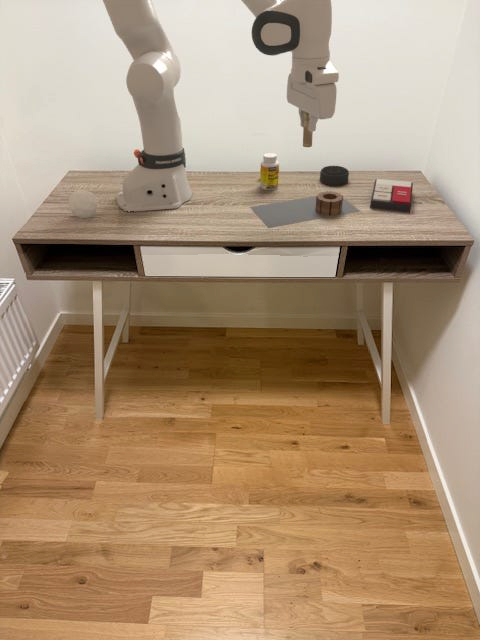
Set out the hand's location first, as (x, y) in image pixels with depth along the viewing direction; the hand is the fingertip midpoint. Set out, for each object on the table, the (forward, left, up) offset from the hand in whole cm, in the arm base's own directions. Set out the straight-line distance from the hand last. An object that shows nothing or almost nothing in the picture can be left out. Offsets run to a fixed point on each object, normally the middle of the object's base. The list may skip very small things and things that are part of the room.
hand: (307, 129), depth 124 cm
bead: (+6, -4, -22) cm, 23 cm away
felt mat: (0, -1, -22) cm, 22 cm away
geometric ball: (-59, +18, -23) cm, 65 cm away
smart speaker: (+18, +15, -23) cm, 33 cm away
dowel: (0, 0, -4) cm, 4 cm away
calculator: (+27, -4, -23) cm, 36 cm away
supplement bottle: (-3, +18, -23) cm, 29 cm away
